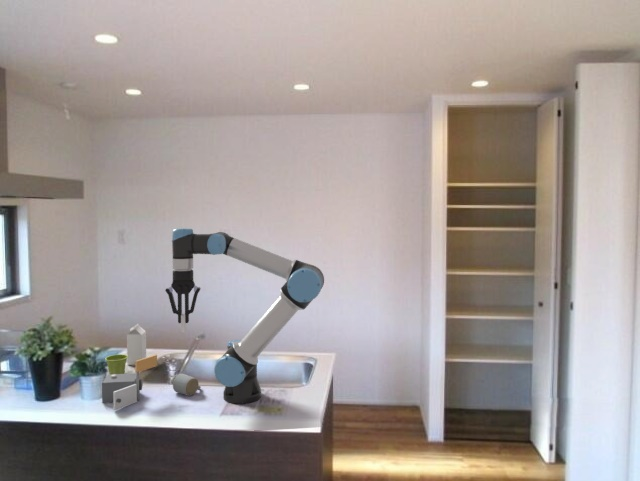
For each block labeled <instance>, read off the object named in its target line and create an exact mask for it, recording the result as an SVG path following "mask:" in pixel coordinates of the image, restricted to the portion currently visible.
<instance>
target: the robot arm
mask: <svg viewBox="0 0 640 481" xmlns="http://www.w3.org/2000/svg"><path fill="white" fill-rule="evenodd" d="M171 236H172V238H171V239H172V240H171V242H172V246H171V247H172V261H171V262H172V270H173V271H172V282H171V285H169V287H166V288H165V291H164V292H166V294H167V295H168V299H169V303H170V305H171V306H170V307H171V309H172V313H173V314H176V315H177V322H178V324H180V333H187V324H188V323H189V321H190V314H193V313H194V311H195V307H196V302H197V298H198V296H199V295H198V294H199V293H200V291H201V289H202V288H201V287H200V286H197V285H196V284H195V282H194V270H193V268H194V255H213V256H214V255H225V256H227V257H230V258H233V259H235V260H238V261H240V262H242V263H245V264H248V265H250V266H252V267H256V268H257V269H260V270H262V271H265V272H267V273H270V274H273V275H275V276H278V277H280V278H282V279H285V281H286V282H284V284H283V285H282V287H281V288H280V295H279V296H278V297H277V299H275V301H274V302H273V303H272V304H271V305H270V307H269V308H268V309H267V310H266V311H265V312H264V314H263V315H262V316H261V317H260V318H259V320H257V322H256V323H255V324H254V325H253V326H252V328H251V329H250V330H249V331H248V332H247V333H246V334H245V336H244V337H242V339H233V340H229V341H228V343H227V346H226V347H227V350H226V351H225V353H223V355H222V356H221V357H220V358H218V359H217V361H216V363H215V365H214V370H213V372H214V375H215V379H216V380H217V382H218V383H220V384H221V385H222V386H225V387H224V389H223V400H224V401H226V402H228V403H231V404H238V405H239V404H248V403H253V402H257V401H258V400H260V399H261V398H262V389H261V385H260V383H259V382H260V381H259V380H258V362H259V359H258V358H259V356H260V355H261V354H262V353H263V351H264V350H265V349H266V348H267V347H268V345H269V344H270V343H271V342H272V341H273V340H274V339H275V337H276V336H277V335H278V334H280V332H281V331H282V329H283V328H284V327H285V326H286V325H287V324H288V323H289V321H290V320H292V318H294V316H295V315H296V313H297V312H298V311H302V310H305V309H306V308H308V306H309V305H310V303H312V302H313V300H315V299H316V298H317V297H318V296H319V294H320V292H321V291H322V289H323V287H324V283H325V275H324V273H323V271H322V270H321V269H320V268H319V267H318V266H316V265H313V264H310V263H307V262H303V261H300V260H298V259H294V260H292V259H288V258H286V257H284V256H281V255H278V254H276V253H273V252H270V251H269V250H265V249H263V248H260V247H258V246H255V245H253V244H251V243H248V242H245V241H244V240H243V241H242V240H240V239H238V238H235V237H233V236H231V235H229V234H228V233H226V232H222V231H218V232H214V233H201V234H200V233H199V234H197V233H194V230H193V228H183V227H182V228H175V229H173V230H172V235H171ZM173 290H174V292H175V293H176V294H177V304H176V301H175V297H174V294H173ZM192 291H193V292H194V293H193V298H192V301H191V306H190V299H189V297H190V293H191V292H192ZM183 295H184V313H183V301H182V300H183Z"/></svg>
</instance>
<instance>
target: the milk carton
mask: <svg viewBox="0 0 640 481" xmlns="http://www.w3.org/2000/svg"><path fill="white" fill-rule="evenodd" d="M126 355H127V356H128V358H127V360H126V362H127V366H130V365H131V366H135V361H137V360H140V359H143V358H147V331H146V330H145V329H144V328H143V327H142V326H140V324H139V322H138V323H136V325H134V326H132V327H131V328H129V332H128V333H127V334H126Z"/></svg>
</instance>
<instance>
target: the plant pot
mask: <svg viewBox="0 0 640 481" xmlns="http://www.w3.org/2000/svg"><path fill="white" fill-rule="evenodd" d="M127 358H128V356H127V354H113V355H112V354H111V355H108V356H105V361H106V363H107V368H108V375H109V374H126V373H125V372H126V371H125V370H126V362H127Z"/></svg>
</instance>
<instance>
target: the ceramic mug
mask: <svg viewBox="0 0 640 481" xmlns="http://www.w3.org/2000/svg"><path fill="white" fill-rule="evenodd" d="M172 382H173V383H172V389H173V391H174V392H175V393H178V394H182V395H185V396H193V395H194V394H196V392H197V391H200V390H201V385H199V380H198V379H197V378H196V377H193V376H191V375H189V374H186V373H179V374H177V375H176V376H175V378H174V380H173V381H172Z"/></svg>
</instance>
